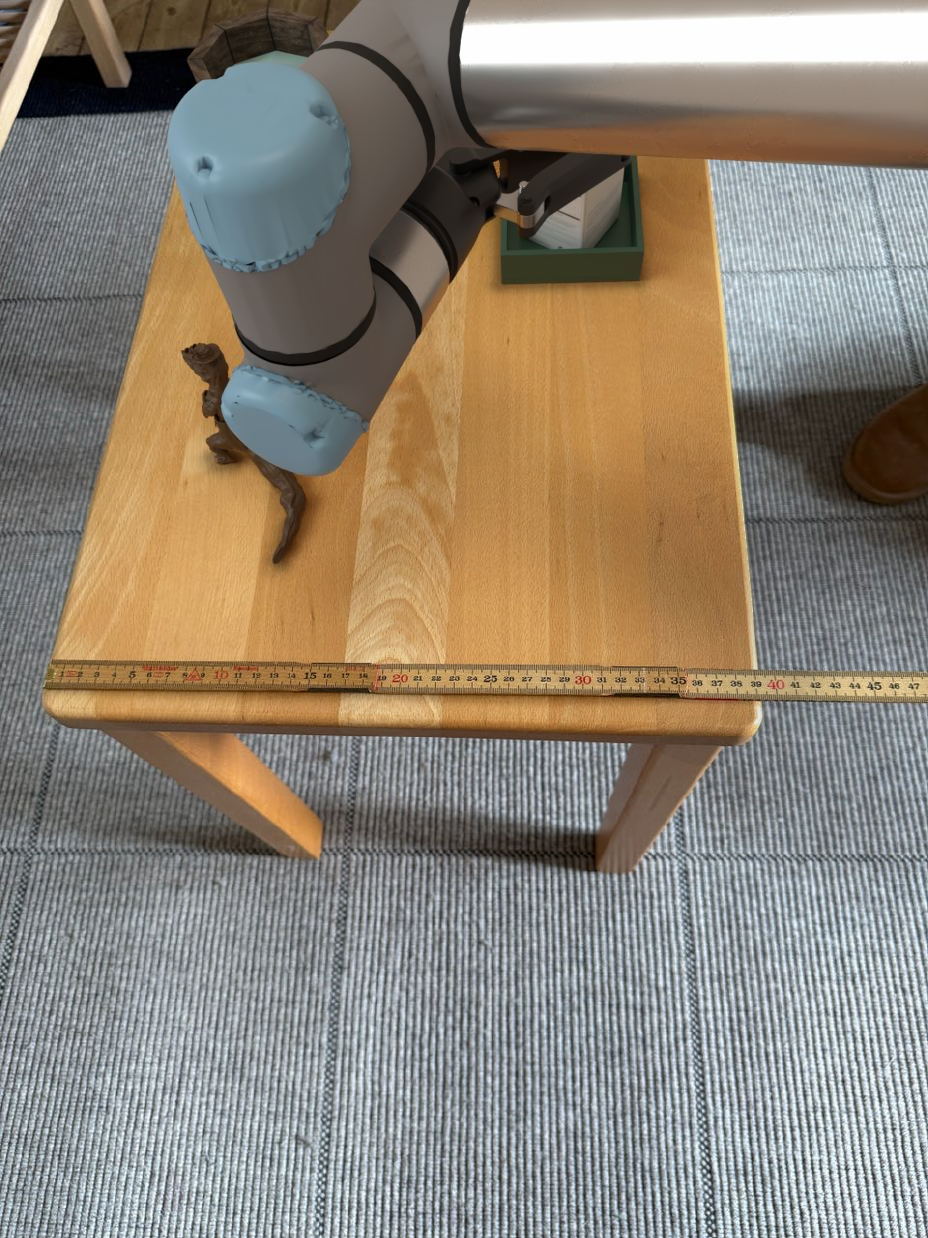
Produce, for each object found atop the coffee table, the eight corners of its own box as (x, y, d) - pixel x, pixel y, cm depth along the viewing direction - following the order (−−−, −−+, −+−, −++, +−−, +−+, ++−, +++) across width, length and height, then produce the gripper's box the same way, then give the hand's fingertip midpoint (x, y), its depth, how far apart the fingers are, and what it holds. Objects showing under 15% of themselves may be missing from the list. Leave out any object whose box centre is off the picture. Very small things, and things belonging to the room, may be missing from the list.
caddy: (639, 280, 84) (644, 251, 81) (501, 284, 85) (500, 255, 82) (632, 182, 89) (636, 150, 86) (502, 186, 90) (501, 155, 87)
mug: (229, 249, 89) (176, 110, 75) (242, 156, 94) (195, 11, 81) (422, 239, 88) (404, 97, 74) (424, 145, 93) (408, -3, 80)
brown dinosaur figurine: (219, 415, 80) (170, 318, 69) (325, 421, 79) (293, 323, 68) (181, 560, 74) (120, 479, 63) (295, 568, 73) (254, 487, 62)
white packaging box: (557, 190, 89) (562, 67, 77) (620, 217, 87) (635, 95, 75) (516, 236, 86) (515, 116, 75) (580, 265, 84) (589, 147, 73)
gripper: (241, 244, 60) (381, 52, 67) (586, 351, 54) (697, 128, 62) (205, 145, 53) (365, -57, 60) (595, 255, 47) (719, 18, 55)
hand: (533, 36), depth 61 cm, fingers open, 13 cm apart
